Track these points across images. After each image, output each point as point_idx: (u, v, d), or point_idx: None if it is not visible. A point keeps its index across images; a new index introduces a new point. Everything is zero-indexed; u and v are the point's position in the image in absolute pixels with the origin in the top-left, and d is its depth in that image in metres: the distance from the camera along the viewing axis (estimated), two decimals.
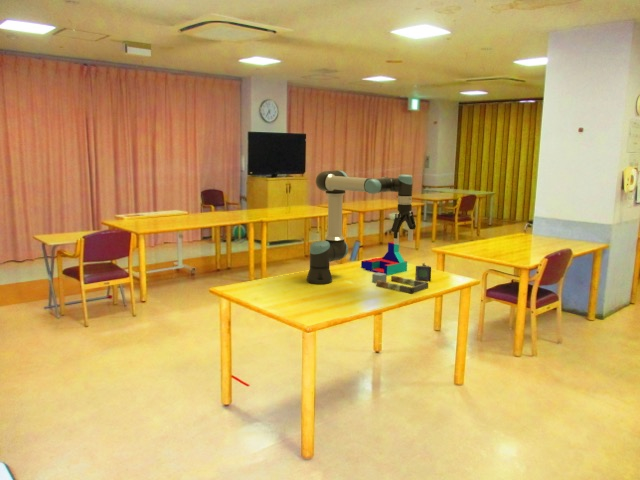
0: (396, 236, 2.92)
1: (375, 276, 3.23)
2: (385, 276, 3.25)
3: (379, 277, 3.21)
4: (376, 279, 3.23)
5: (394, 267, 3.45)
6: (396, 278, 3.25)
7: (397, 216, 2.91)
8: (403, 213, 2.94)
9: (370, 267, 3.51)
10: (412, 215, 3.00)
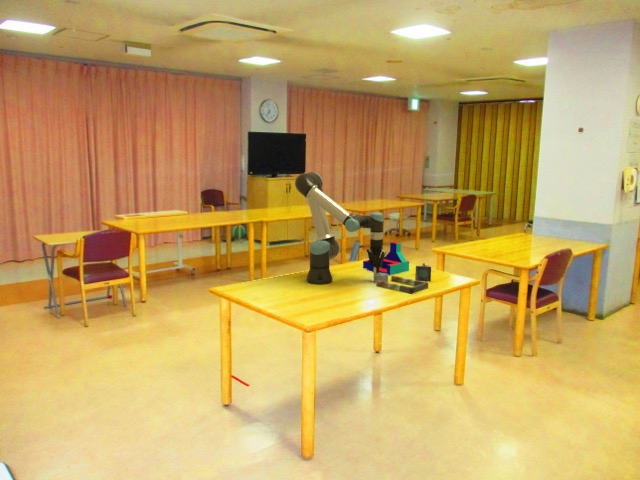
0: (373, 270, 3.27)
1: (376, 276, 3.23)
2: (386, 276, 3.24)
3: (380, 277, 3.21)
4: (377, 279, 3.22)
5: (397, 267, 3.45)
6: (396, 278, 3.25)
7: None
8: (371, 246, 3.25)
9: None
10: (381, 254, 3.21)
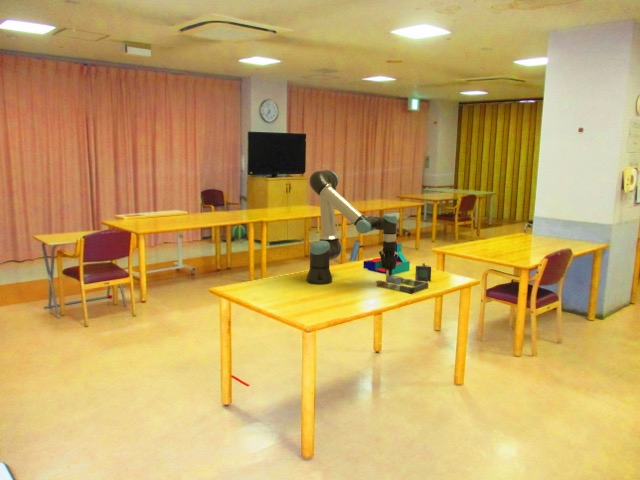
0: (386, 273, 3.21)
1: (389, 279, 3.17)
2: (399, 279, 3.18)
3: (393, 280, 3.15)
4: (390, 282, 3.16)
5: (397, 267, 3.46)
6: None
7: None
8: (383, 248, 3.19)
9: (373, 267, 3.52)
10: (394, 257, 3.15)
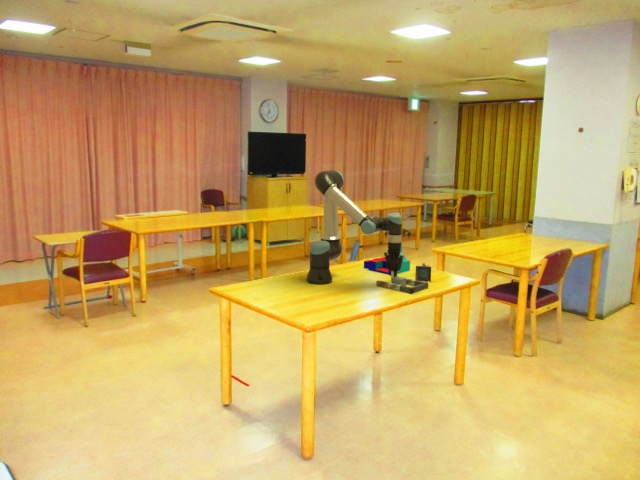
0: (391, 274, 3.18)
1: (394, 280, 3.14)
2: (405, 280, 3.16)
3: (399, 281, 3.12)
4: (395, 283, 3.14)
5: None
6: None
7: None
8: (388, 249, 3.17)
9: (374, 267, 3.52)
10: (400, 258, 3.12)
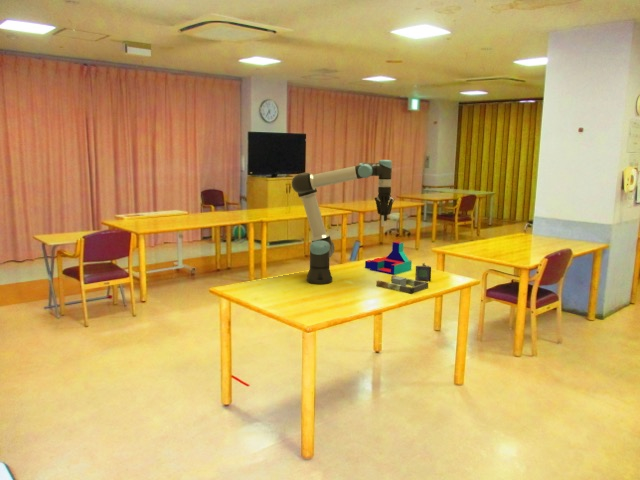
0: (381, 218, 3.27)
1: (394, 280, 3.14)
2: (405, 280, 3.15)
3: (399, 281, 3.12)
4: (395, 283, 3.14)
5: (400, 266, 3.46)
6: None
7: None
8: (379, 194, 3.25)
9: (376, 267, 3.52)
10: (389, 201, 3.20)
